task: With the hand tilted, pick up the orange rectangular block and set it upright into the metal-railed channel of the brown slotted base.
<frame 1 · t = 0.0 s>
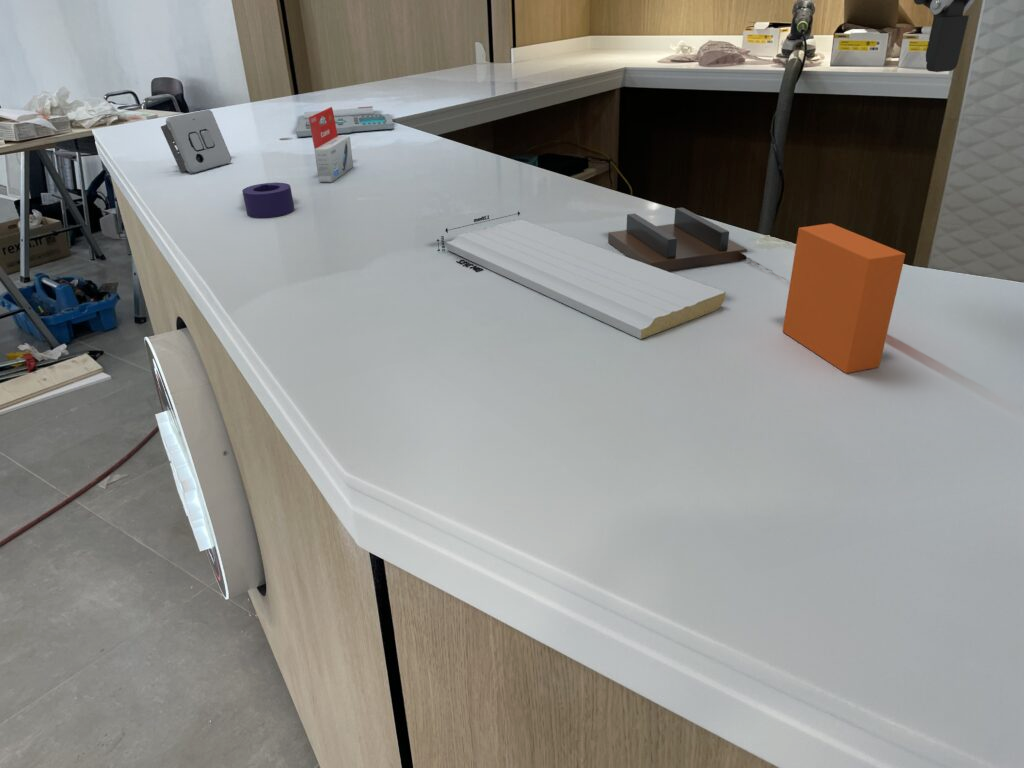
hand: (987, 76, 51), 20 cm above the counter, tool pointing down, fingers open, 8 cm apart
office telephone: (345, 126, 161), on the counter
orange rectangular block: (828, 348, 58), on the counter
purple donut ring: (267, 207, 103), on the counter
baseboard molding: (564, 279, 75), on the counter
electrical switch: (201, 169, 128), on the counter
ink cartridge box: (336, 175, 119), on the counter
brown slotted base: (674, 250, 80), on the counter
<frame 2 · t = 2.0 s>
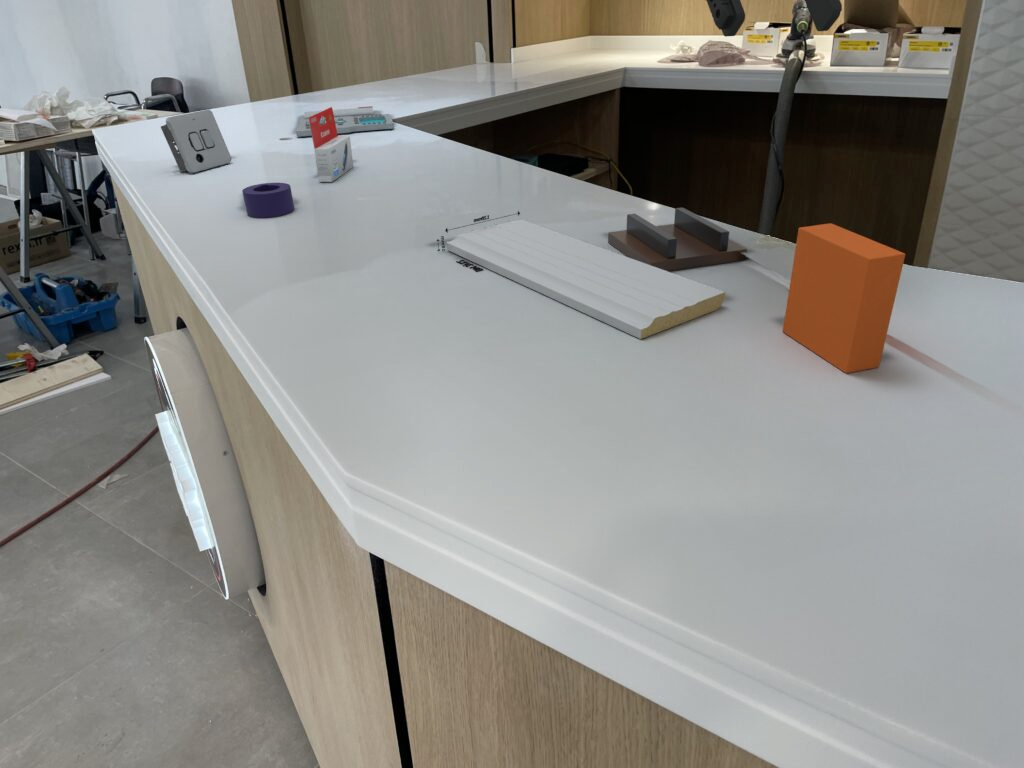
hand: (784, 26, 57), 23 cm above the counter, tool tilted 45°, fingers open, 8 cm apart
nothing on the counter moved.
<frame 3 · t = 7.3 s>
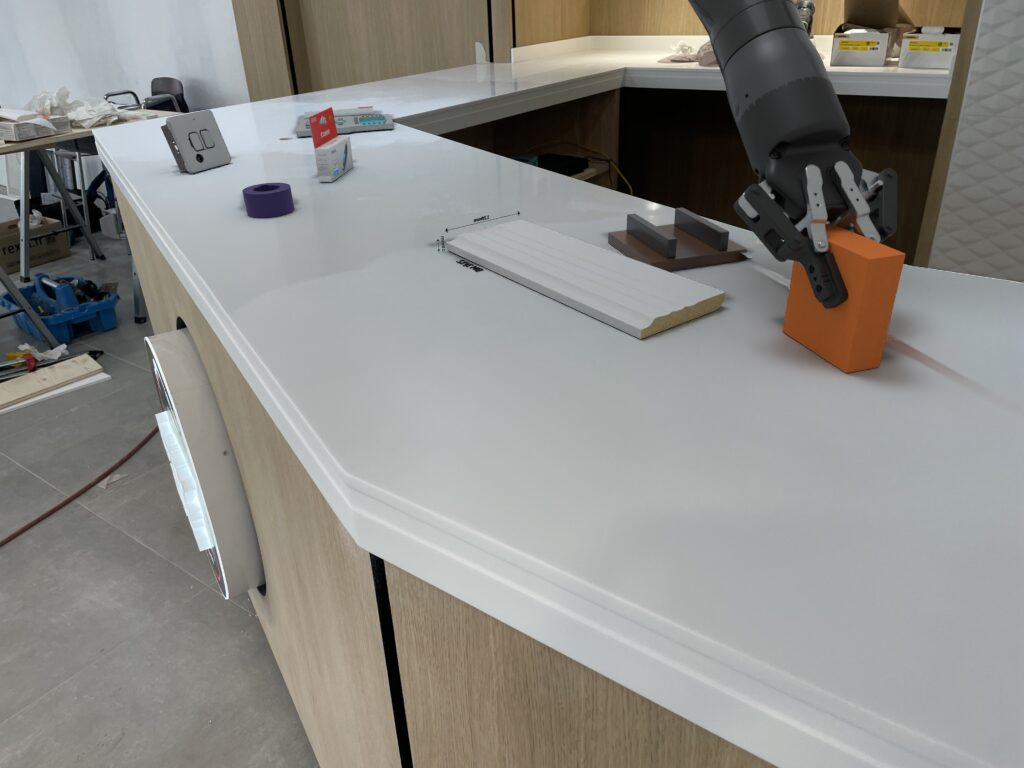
hand: (858, 299, 54), 5 cm above the counter, tool tilted 45°, fingers closed on orange rectangular block, 3 cm apart
orange rectangular block: (828, 348, 58), on the counter, touching gripper
everything else where it was.
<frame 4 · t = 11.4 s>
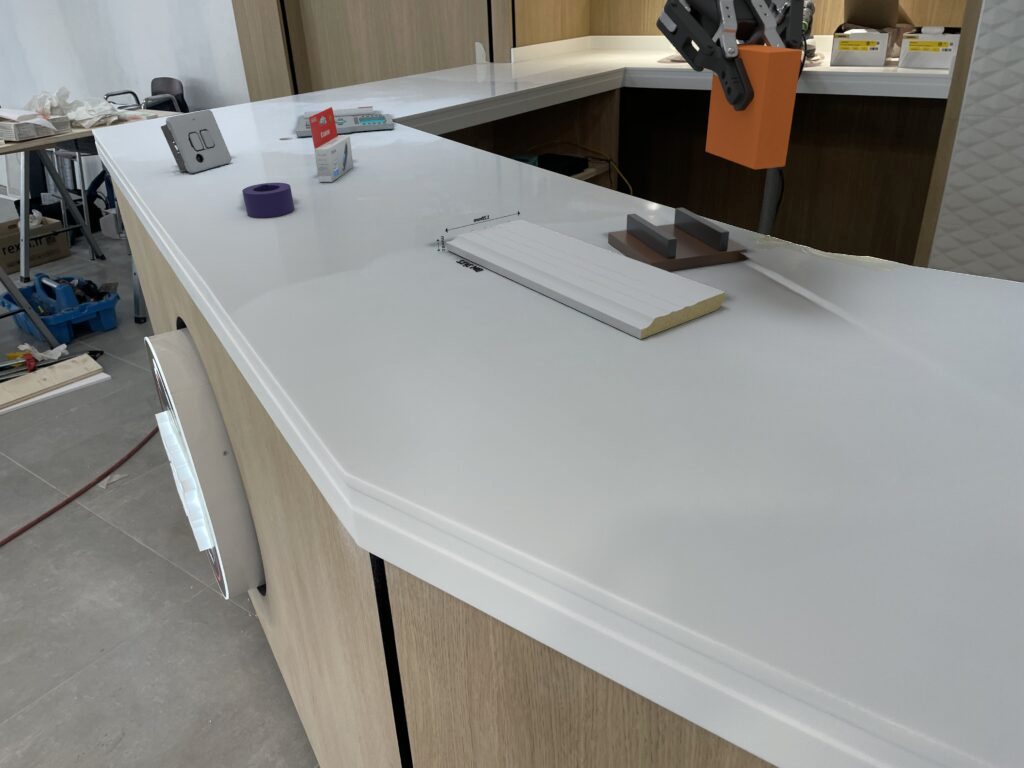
hand: (764, 102, 61), 17 cm above the counter, tool tilted 45°, fingers closed on orange rectangular block, 3 cm apart
orange rectangular block: (743, 158, 65), point 12 cm above the counter, touching gripper
everything else where it was.
when the fingers open (6 cm above the counter, at t = 15.8 s): orange rectangular block stays where it is, resting on brown slotted base.
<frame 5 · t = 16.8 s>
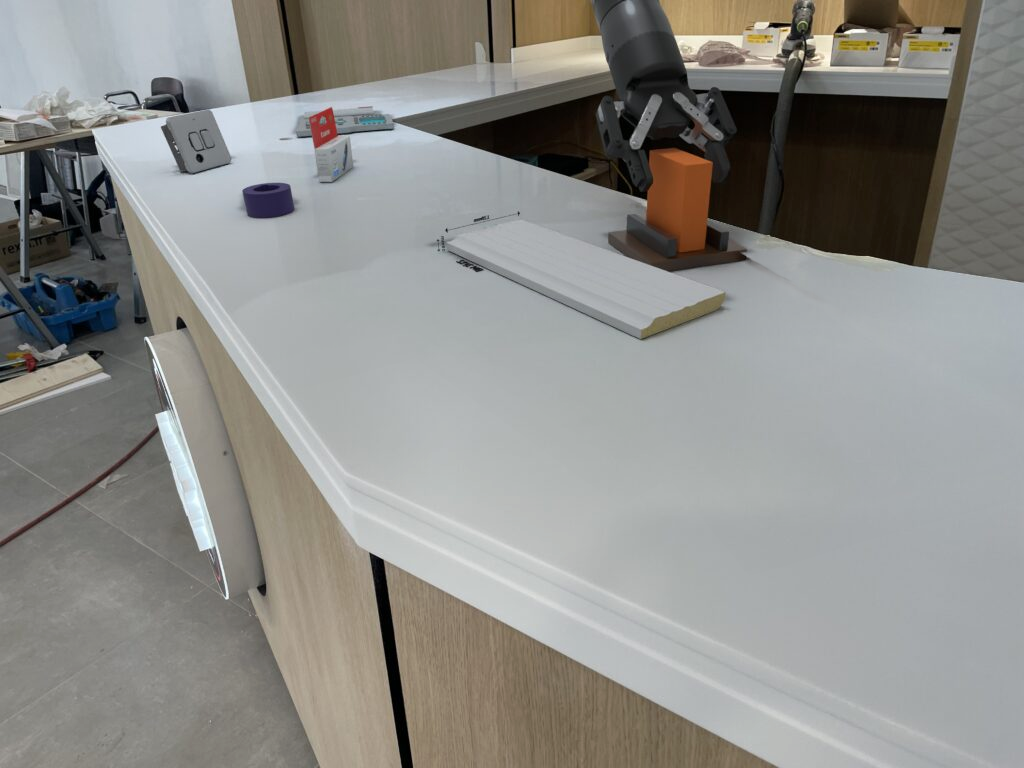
hand: (685, 183, 76), 8 cm above the counter, tool tilted 45°, fingers open, 8 cm apart
orange rectangular block: (673, 240, 80), point 1 cm above the counter, touching brown slotted base
everything else where it was.
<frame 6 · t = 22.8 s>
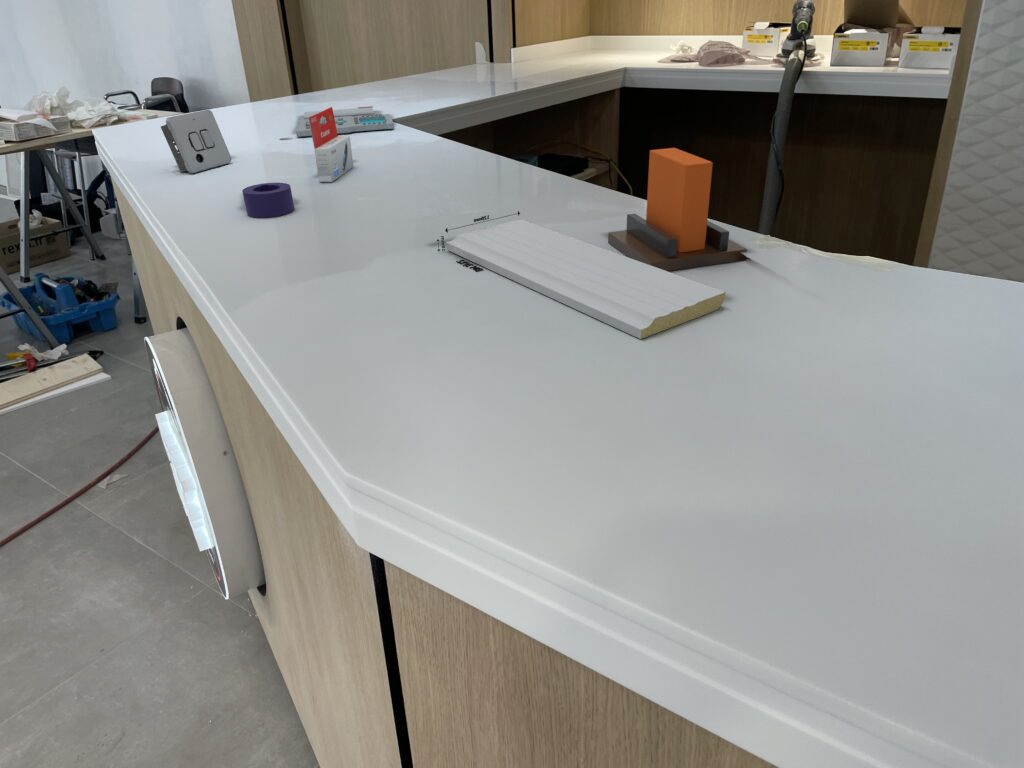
nothing on the counter moved.
at the end: orange rectangular block 0.1 cm off-centre on the brown slotted base, point 1.2 cm above the brown slotted base's base; orange rectangular block tilted 0°; the gripper is holding nothing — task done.
